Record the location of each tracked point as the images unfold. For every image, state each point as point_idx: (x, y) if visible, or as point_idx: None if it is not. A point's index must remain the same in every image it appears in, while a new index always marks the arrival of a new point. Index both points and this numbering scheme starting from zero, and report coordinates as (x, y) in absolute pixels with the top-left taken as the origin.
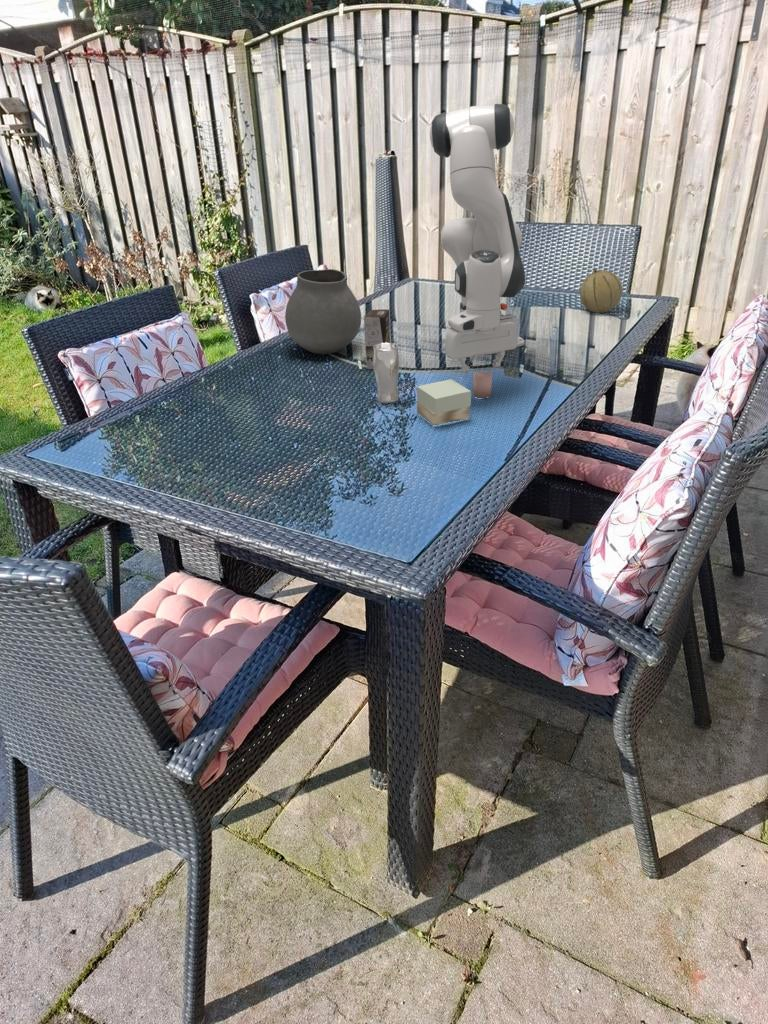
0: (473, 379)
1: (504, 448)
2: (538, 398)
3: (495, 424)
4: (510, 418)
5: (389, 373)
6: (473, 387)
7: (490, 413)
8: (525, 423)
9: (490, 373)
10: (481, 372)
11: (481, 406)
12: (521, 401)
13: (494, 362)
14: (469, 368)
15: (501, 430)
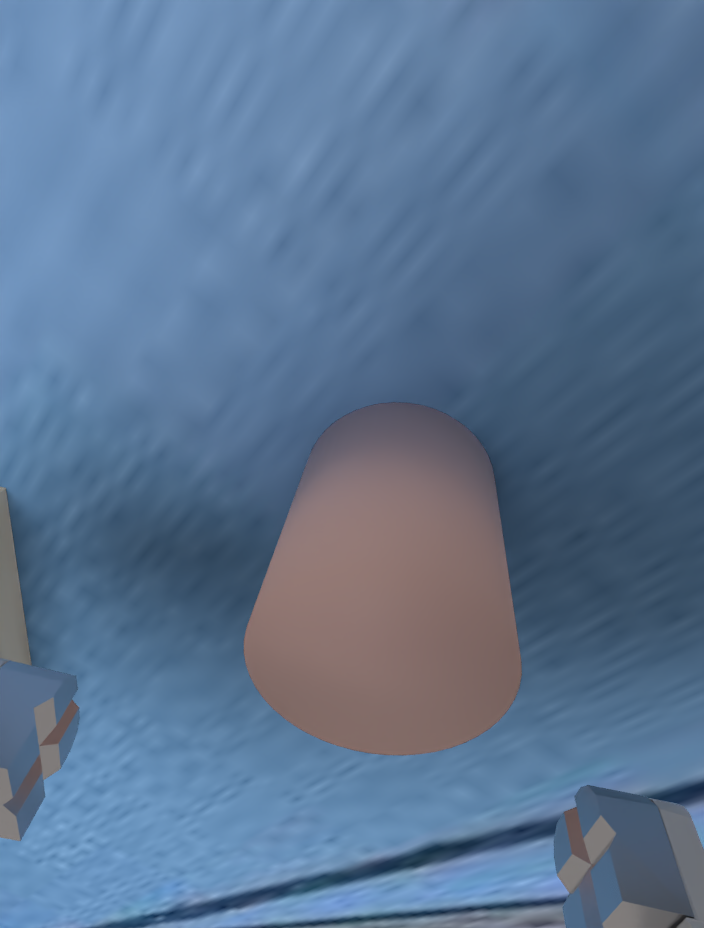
0: (274, 561)
1: (57, 915)
2: (689, 783)
3: (151, 808)
4: (274, 818)
5: None
6: (291, 505)
7: (215, 726)
8: (299, 878)
9: (502, 701)
10: (432, 610)
11: (233, 629)
12: (546, 743)
13: (595, 894)
14: (42, 801)
15: (139, 850)
